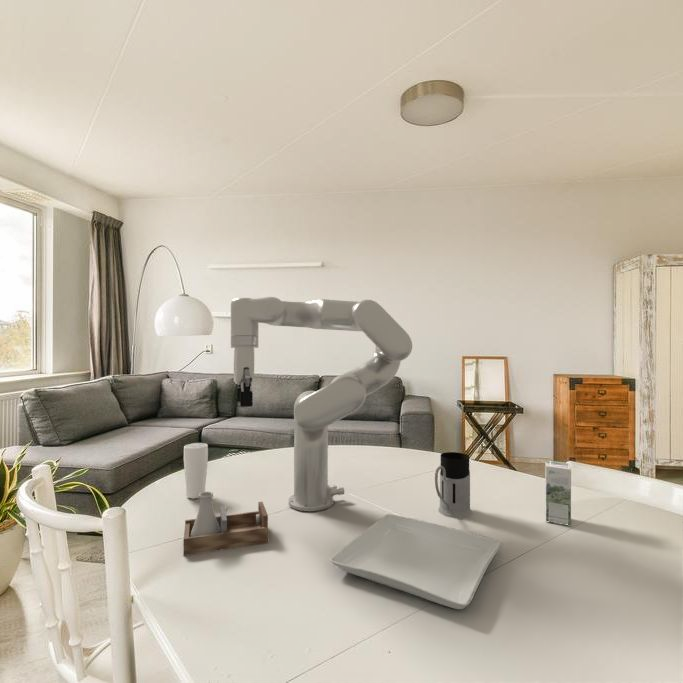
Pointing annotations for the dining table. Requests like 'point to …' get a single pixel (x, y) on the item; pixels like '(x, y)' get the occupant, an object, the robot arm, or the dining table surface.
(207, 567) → the dining table surface
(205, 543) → the wooden tray
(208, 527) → the flask
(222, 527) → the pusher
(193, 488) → the drinking glass
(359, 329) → the robot arm
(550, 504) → the syrup box
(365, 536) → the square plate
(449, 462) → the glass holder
